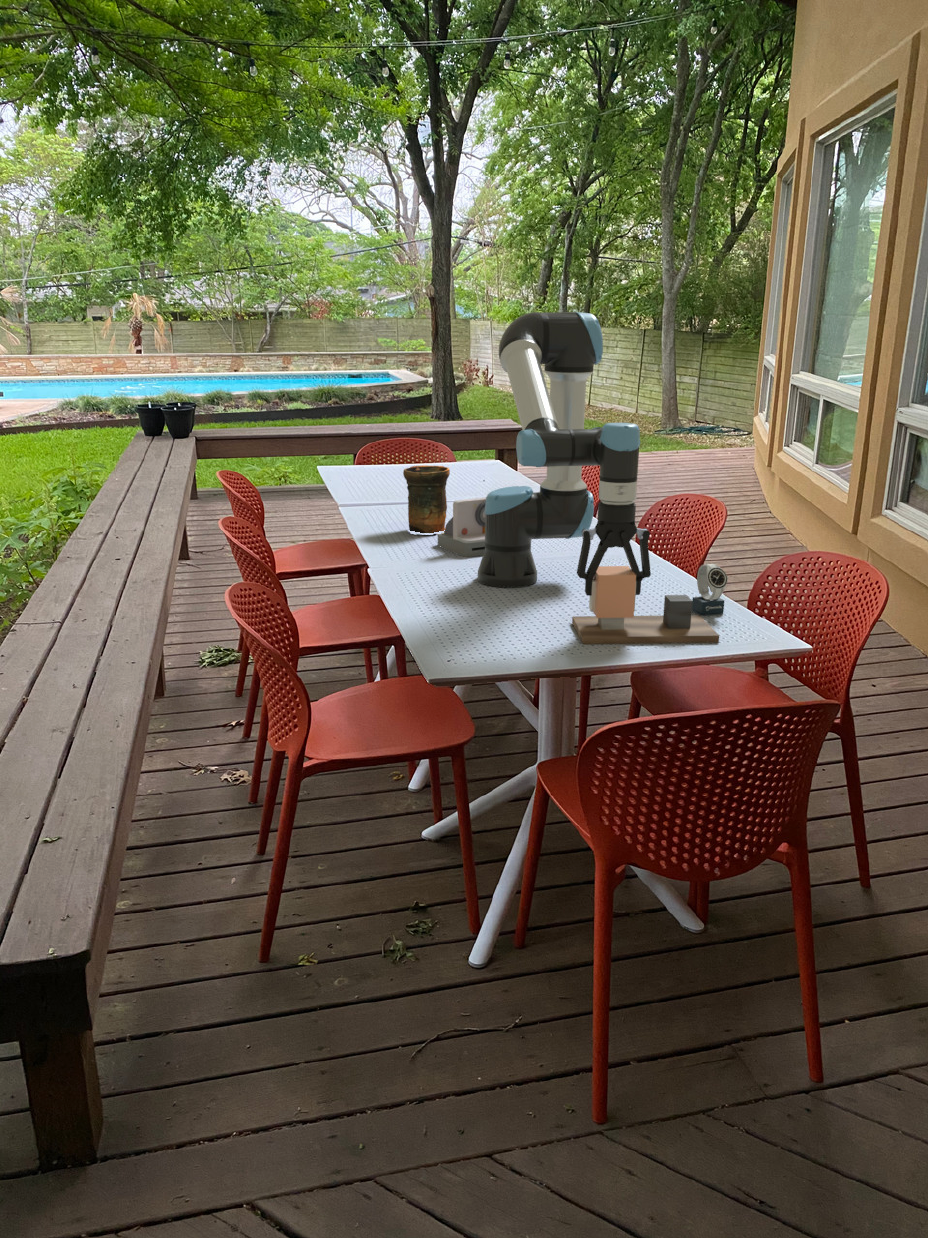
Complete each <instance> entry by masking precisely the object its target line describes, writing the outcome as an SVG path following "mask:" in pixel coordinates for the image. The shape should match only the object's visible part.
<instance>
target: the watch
mask: <svg viewBox="0 0 928 1238" xmlns="http://www.w3.org/2000/svg"><path fill="white" fill-rule="evenodd" d="M728 580H729V577H728V575H727V573H726V571H725V570H724V569H723V568H721V567H720V566H719V565H717V564H715V563H706V564H701V566H699V568H698V570H697V577H696V582H697V583H696V585H697V590H698V592H699V594H700V595H701V596H693V597H692V599H691V600H692V612H694V613H696V614H697V615H700V616H701V617H703V616H704V617H705V616H712V615H723V614H724V610H725V600H724V599H722V598H721V597H722V595H723V592H724V591H725V589H726V585H728V584H727V583H728ZM710 593H711V594H710Z"/></svg>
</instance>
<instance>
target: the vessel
mask: <svg viewBox="0 0 928 1238" xmlns="http://www.w3.org/2000/svg"><path fill="white" fill-rule="evenodd" d="M450 472H451V471H450V468H449V467H447V466H443V465H427V464H426V465H424V464H423V465H414V466H413V465H412V466H410V467H407V468H404V469H403V472H402V474H403V477H404V479H405V480H406V485H407V487H406V489H407V492H408V495H407V502H408V505H407V506H408V508H407V514H408V519H407V520H408V530H410V531H415V532H420V533H434V532H439V531H444V530H445V527H446V518H447V509H448V503H447V502H448V501H447V492H446V490H447V489H446V486H447V484H448V483H447V481H448V479H449V476H450Z"/></svg>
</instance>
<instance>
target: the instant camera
mask: <svg viewBox="0 0 928 1238" xmlns="http://www.w3.org/2000/svg"><path fill="white" fill-rule="evenodd" d="M486 497H487V496H485V497H476V498H468V499H457V500H454V501H453V502H452V517H451V518H450V519H449V520H448V522H447V523H445V531H444V533H441V534H437V547H438V546H441V547H443V548H445V549H444V550H446V549H447V550H446V551H448V550H449V552H451V551H452V552H451V553H454V554H456V553H457V554H456V555H459V556H461V555H462V556H461V557H465V558H470V557H471V558H472V556H473V557H478V555H480V556H483V554H484V551H485V513H484V510H485V503H486ZM441 547H440V548H441ZM443 548H442V549H443Z"/></svg>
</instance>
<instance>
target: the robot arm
mask: <svg viewBox="0 0 928 1238" xmlns="http://www.w3.org/2000/svg"><path fill="white" fill-rule="evenodd" d="M603 339H604V338H603V333H602V327H601V325H600V322H599V320H598V318H597V317H596V316H595V315H594V314H592V313H590V312H589V313H588V312H578V311H571V312H569V311H568V312H567V311H565V312H564V311H563V312H548V311H547V312H541V311H540V312H539V311H536V312H535V311H533V312H532V311H531V312H527V313H525V314H522V315H520V316H519V317H517V318H515V319H514V320H513V321H512V322H511V323H510V324H509V325H508V326H507V327H506V328H505V330H504V332H503V334H502V336H501V337H500V341H499V343H498V344H499V345H498V358H499V363H500V365H501V368H502V369H503V370H504V372H505V373H507V375H508V380H509V385H510V387H511V391H512V394H513V395H512V396H513V398H514V403H515V406H516V409H517V410H516V411H517V414H518V418H519V422H520V426H521V429H522V430H520V431H519V432H518V434H517V436H516V446H515V448H516V449H515V451H516V458H517V461H518V463H519V465H520V466H523V467H531V468H533V467H534V468H546V477H545V479H544V480H542V482H541V483H540V484H539V485H540V486H539V491H538V492H534V490H533V488H532V487H531V486H527V485H521V486H520V485H514V486H513V485H512V486H505V487H501V488H497V489H494V490H492V491H490V492H488V494H487V495H486V496H485V497H486V503H485V510H484V513H485V551H484V554H483V555H482V557H481V560H480V563H479V565H478V566H479V567H478V569H477V582H479V583H480V584H482V585H486V586H489V587H496V588H523V587H527V586H530V585H534V584H535V583H537V581H538V571H537V568H536V564H535V560H534V557H533V553H532V540H546V539H547V540H549V539H551V540H552V539H566V540H569V539H573V538H574V539H575V538H582V543H581V544H582V545H581V549H580V554H579V559H578V564H577V568H576V575H577V576H578V578H579V579H584V581H585V582H584V592H585V595H586V596H589V600H588V601H589V602H588V603H589V605H588V608H589V610H590V612H591V613H594V612H595V598H596V581H595V579H594V576H595V573H596V571H597V569H598V567H599V566H601V565H600V564H601V562H602V561H603V558H604V556H605V554H606V553H607V551H608V549H609V548H611V549H612V548H622V549H623V550H624V551H623V552H624V553H625V556H626V558H627V561H628V563H629V568H630V569H631V570H632V571H633V572H634V573H635V574H636V586H635V598H636V596H640V594H641V593H642V592H641V589H642V581H643V579H645V578H650V577H651V576H652V573H651V562H650V551H649V538H650V535H651V532H650V530H648V529H647V528H644V527H643V528H639V527H637V525H636V513H637V512H636V510H637V508H636V507H637V505H636V503H635V501H636V500H637V489H638V487H637V486H638V472H639V459H640V458H639V457H640V446H641V439H640V438H641V436H640V435H641V434H640V433H641V432H640V426H639V425H638V424H636V423H630V422H607V423H604V424H603V425H602V427H593V428H589V429H588V428H586V429H585V417H586V416H585V413H586V409H585V408H586V393H587V380H588V378H589V377H590V376H591V375H592V374H593V373H594V365H595V366H596V365H598V364H600V363H601V361H602V357H603V353H604V340H603ZM541 365H544V372H543V369H542V366H541ZM544 373H545V374H546V376H547V377H548V378H549V380H550V382H549V388H548V386H547V382H546V380H545V376H544ZM548 389H549V390H548ZM587 466H588V467H590V466H594V467H597V466H599V485H598V499H599V500H600V501H599V503H598V504H597V506H598V507H597V522H596V525H595V527H594V528H591V526H592V522H593V520H594V518H593V517H594V514H595V512H594V511H595V505H594V502H595V500H594V495H593V493H592V492H591V491H589V490H588V485H587V483H586V482H584V480H583V479H582V472H583V471H582V470H583V469H582V467H587ZM595 535H596V536H597V537H598V538H599V543H598V545H597V548H596V551H595V553H594V555H593V557H592V559H591V562H590V564H589V566H588V568H587V564H588V559H589V555H590V549H591V542H592V540H594V538H595V537H594V536H595ZM635 535H637V536H636V537H637V538H638V539H639V541H638V542H639V549H640V550H639V553H640V561H641V570H640V568H639V565H638V563H637V560H636V557H635V554H634V551H633V548H632V546H631V542H630V541H631V540H632V539H633V537H634V536H635ZM586 569H587V570H586ZM635 611H636V602H635V603H634V612H635Z"/></svg>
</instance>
